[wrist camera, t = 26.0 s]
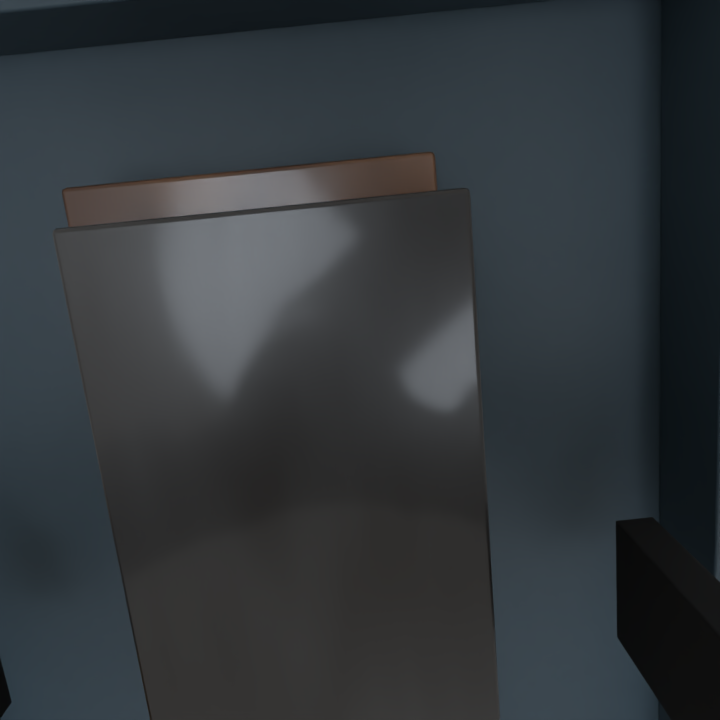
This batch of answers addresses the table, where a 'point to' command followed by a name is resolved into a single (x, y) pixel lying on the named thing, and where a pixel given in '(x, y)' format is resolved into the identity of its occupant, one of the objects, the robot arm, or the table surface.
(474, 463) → the two-tone stacked slabs
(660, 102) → the tray
